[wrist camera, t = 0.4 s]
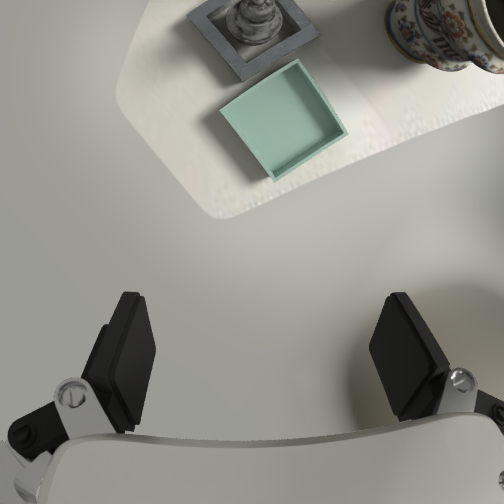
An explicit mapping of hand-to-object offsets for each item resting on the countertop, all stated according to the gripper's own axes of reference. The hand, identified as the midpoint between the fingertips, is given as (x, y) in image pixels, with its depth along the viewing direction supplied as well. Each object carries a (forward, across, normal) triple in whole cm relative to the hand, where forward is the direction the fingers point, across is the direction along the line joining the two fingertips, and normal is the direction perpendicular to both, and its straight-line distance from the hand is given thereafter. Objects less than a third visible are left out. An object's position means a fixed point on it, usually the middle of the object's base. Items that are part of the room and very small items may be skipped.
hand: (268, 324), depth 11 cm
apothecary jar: (+29, -21, -20) cm, 41 cm away
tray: (+29, -4, -5) cm, 29 cm away
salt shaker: (+29, 0, -16) cm, 33 cm away
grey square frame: (+29, 0, -16) cm, 33 cm away
